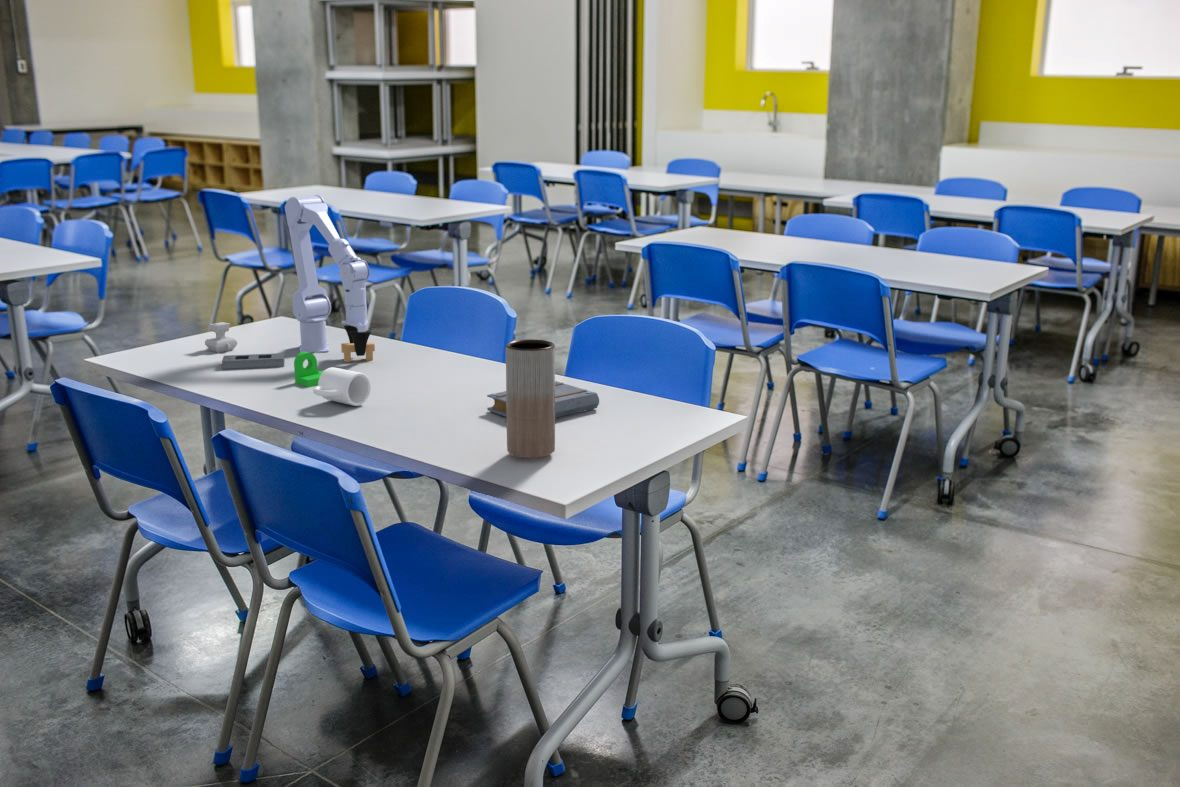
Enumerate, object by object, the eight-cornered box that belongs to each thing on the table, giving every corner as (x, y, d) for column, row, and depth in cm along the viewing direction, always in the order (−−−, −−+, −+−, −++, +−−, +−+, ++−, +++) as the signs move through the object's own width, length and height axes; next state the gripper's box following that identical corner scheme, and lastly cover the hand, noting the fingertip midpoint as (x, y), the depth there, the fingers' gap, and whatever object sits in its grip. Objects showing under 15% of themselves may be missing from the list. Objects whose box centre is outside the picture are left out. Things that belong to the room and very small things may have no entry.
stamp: (203, 351, 320) (200, 323, 318) (223, 348, 325) (221, 319, 323) (219, 356, 314) (217, 327, 312) (240, 352, 319) (238, 323, 317)
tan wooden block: (342, 361, 310) (341, 343, 308) (374, 359, 312) (374, 342, 310) (342, 363, 307) (341, 345, 306) (375, 361, 309) (374, 344, 308)
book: (529, 426, 250) (529, 405, 249) (486, 411, 262) (486, 391, 261) (599, 410, 264) (599, 390, 262) (554, 396, 275) (554, 377, 274)
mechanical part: (308, 387, 282) (306, 357, 280) (295, 383, 286) (293, 353, 284) (347, 379, 290) (346, 349, 288) (334, 375, 294) (333, 346, 292)
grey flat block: (224, 364, 304) (223, 355, 304) (284, 361, 308) (284, 353, 307) (222, 370, 298) (221, 361, 297) (284, 367, 301) (283, 358, 301)
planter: (516, 441, 237) (515, 337, 231) (561, 446, 234) (561, 341, 229) (499, 455, 228) (498, 347, 222) (545, 460, 225) (545, 351, 219)
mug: (343, 395, 273) (341, 364, 271) (371, 402, 268) (370, 370, 266) (305, 406, 264) (303, 373, 262) (334, 413, 258) (332, 379, 256)
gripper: (336, 301, 310) (339, 348, 314) (346, 310, 297) (348, 359, 301) (361, 299, 313) (364, 346, 316) (372, 308, 300) (374, 357, 303)
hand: (358, 352), depth 309 cm, fingers open, 6 cm apart
